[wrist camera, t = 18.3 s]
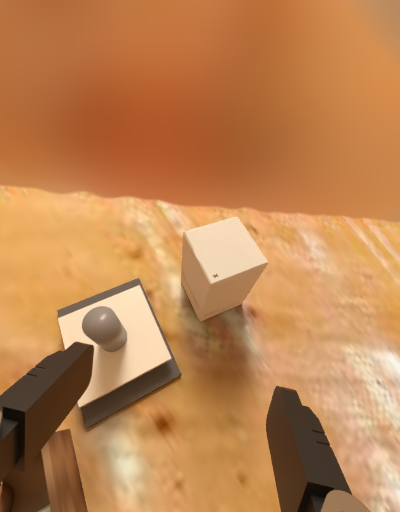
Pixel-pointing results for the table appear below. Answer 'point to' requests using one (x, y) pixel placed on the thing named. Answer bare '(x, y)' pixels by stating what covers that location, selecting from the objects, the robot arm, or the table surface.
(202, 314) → the supplement box
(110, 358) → the lid
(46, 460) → the walnut box
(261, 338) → the table surface
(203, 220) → the table surface
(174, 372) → the rubber mat
